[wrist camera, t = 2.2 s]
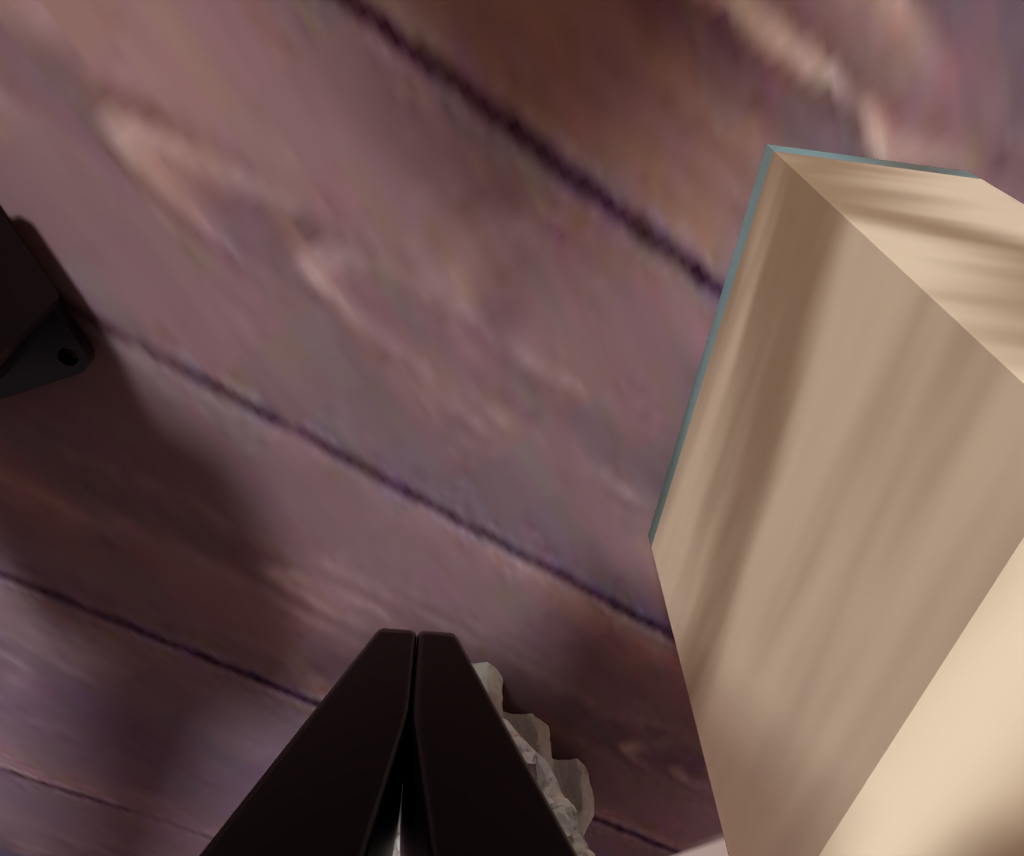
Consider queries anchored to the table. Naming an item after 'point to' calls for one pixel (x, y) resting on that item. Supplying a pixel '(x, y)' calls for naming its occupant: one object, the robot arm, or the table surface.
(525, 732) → the egg carton
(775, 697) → the birch block
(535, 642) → the table surface
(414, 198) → the table surface
